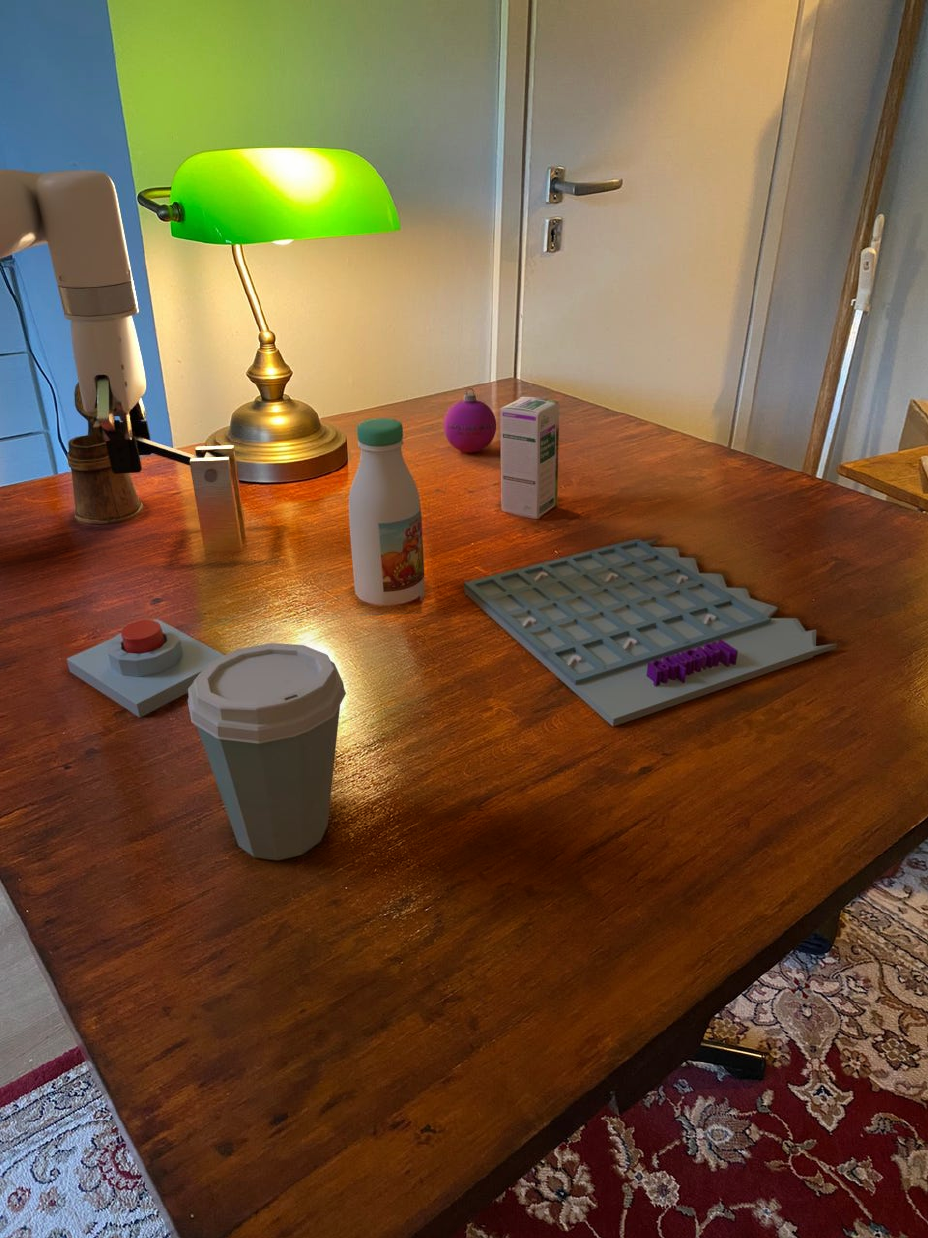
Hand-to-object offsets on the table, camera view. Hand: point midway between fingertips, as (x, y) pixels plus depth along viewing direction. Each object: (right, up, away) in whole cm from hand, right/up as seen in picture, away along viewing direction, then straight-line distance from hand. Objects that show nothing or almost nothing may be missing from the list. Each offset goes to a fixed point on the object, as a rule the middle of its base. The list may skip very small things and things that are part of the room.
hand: (133, 461), depth 105 cm
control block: (+8, -24, -17) cm, 31 cm away
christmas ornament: (+39, +8, +38) cm, 55 cm away
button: (+8, -21, -19) cm, 29 cm away
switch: (+4, 0, 0) cm, 4 cm away
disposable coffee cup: (+25, -35, -36) cm, 56 cm away
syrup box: (+47, -4, +17) cm, 50 cm away
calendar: (+57, -18, -9) cm, 61 cm away
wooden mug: (-9, -4, +18) cm, 20 cm away
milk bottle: (+30, -16, -4) cm, 34 cm away
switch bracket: (+9, -10, +7) cm, 15 cm away
